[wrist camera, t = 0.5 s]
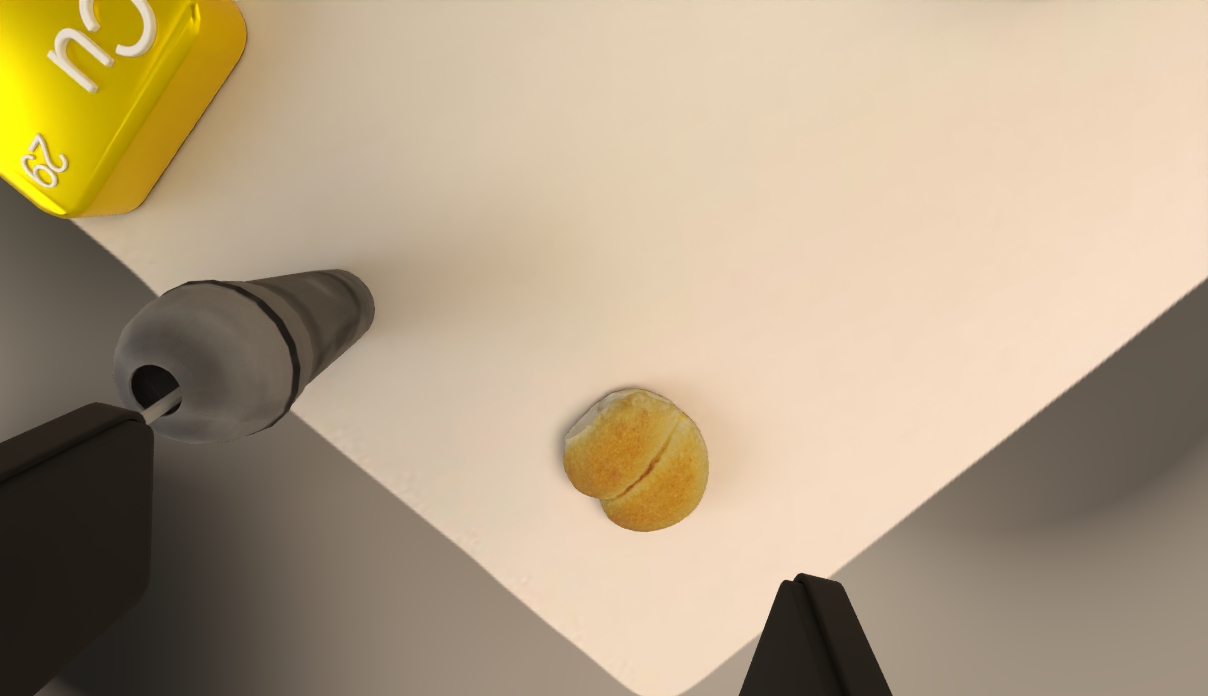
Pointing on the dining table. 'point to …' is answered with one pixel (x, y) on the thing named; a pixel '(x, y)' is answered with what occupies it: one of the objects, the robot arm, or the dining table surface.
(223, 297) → the beverage cup
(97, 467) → the robot arm
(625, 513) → the bread roll
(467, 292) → the dining table surface
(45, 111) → the element tile
